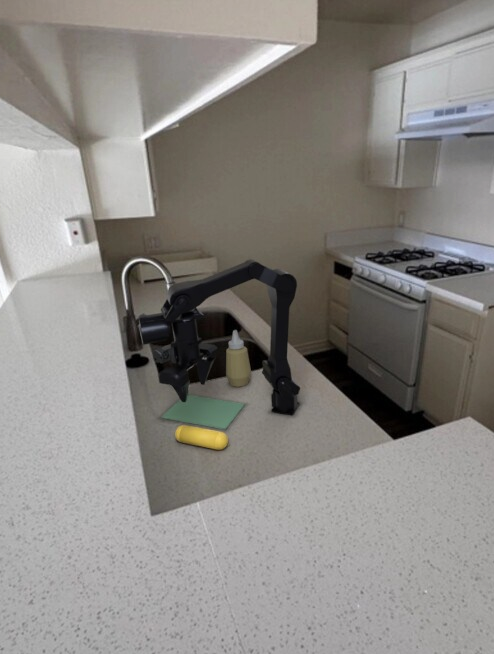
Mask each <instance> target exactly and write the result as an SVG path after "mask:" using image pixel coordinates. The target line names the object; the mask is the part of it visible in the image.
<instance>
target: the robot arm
mask: <svg viewBox="0 0 494 654" xmlns="http://www.w3.org/2000/svg"><path fill="white" fill-rule="evenodd" d="M251 280H256V281H259V282H260V283H263V284H265V285H266V289H267V294H268V297H269V301H270V305H271V310H270V311H271V314H270V315H271V317H270V320H271V321H270V346H269V356H268V358H267V359H266V360H265V359H263V360H262V363H261V364H262V371H261V374H262V376H263V377H264V378H265V380H266V381H267V383H269V385H270V386H271V388H273V389H272V392H271V394H270V397H271V398H270V400H271V407H272V408H271V410H270V411H271V413H274V414H280V415H281V414H282V415H288V416H294V414H295V413H296V412H297V409H298V408H299V405H300V402H299V401H298V395H299V394H300V391H301V387H300V386H299V385H298V384H297V383H296V381H295V380H294V379H293V377H292V370H291V367H290V364H289V360H288V343H289V327H290V326H289V324H290V307H291V305H292V303H293V301H294V300H295V298H296V293H297V288H298V281H297V279H296V277H295V276H294V275H292V274H291V273H289V272H288V271H285V270H283V269H281V268H275V269H271V268H270V267H268V266H267V265H266V266H265V265H263V264H261V263H260V262H258V261H257V260H255V259H252V258H251V259H247V260H245V261H244V262H241V263H239V264H237V265H234V266H231V267H230V268H226V269H224V270H222V271H219V272H216V273H214V274H211V275H209V276H207V277H204V278H201V279H196V280H195V279H194V280H185V281H181V282H176V283H173V284H172V285H170V286H169V287H168V289H167V292H166V299H165V301H164V302H163V305H162V306H161V307H160V312H158V313H152V314H139V315H138V323H139V326H138V328H139V333H140V334H139V335H140V337H141V342H142V345H143V346H145V345H150V344H156V343H161V342H167V341H168V340H169V339H170V337H171V336H172V333H173V340H172V341H171V343H170V344H165V345H164V346H162V347H159V348H155V349H154V350H152V359H153V360H154V363H156V364H158V363H159V364H161V365H162V364H164V363H166V362H170V361H171V364H178V366H174V365H167V367H164V368H163V369H162V370H161V371H159V373H158V374H157V378H158V382H159V384H162V385H168V386H171V388H173V390H174V391H175V393H176V395H177V397H178V398H179V400H180V399H181V401H182V402H186V401H187V396H188V395H189V390H190V389H189V388H190V383H191V379H189V377H190V373H189V370H191V369H192V368H193V367H194V366H196V372H197V376H198V380H199V383H200V385H201V386H202V385H203V386H205V384H206V382H207V380H208V377H209V374H210V372H211V369H212V366H213V364H214V361H215V360H216V357H217V356H218V355H219V351H218V347H217V346H216V345H215V344H212V343H204V342H203V338H202V337H199V333H198V326H197V325H198V324H197V320H199V319H203V318H205V314H204V313H203V312H202V311H201V310H199V309H198V307H199V306H201V305H202V304H203V303H204V302H205V301H206V300H207V299H208V298H210V297H213V296H214V295H218V294H220V293H222V292H225V291H227V290H230V289H232V288H234V287H237V286H239V285H242V284H244V283H247V282H249V281H251ZM170 324H171V325H170ZM171 329H172V331H171Z"/></svg>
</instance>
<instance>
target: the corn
mask: <svg viewBox="0 0 494 654" xmlns="http://www.w3.org/2000/svg"><path fill="white" fill-rule="evenodd" d="M174 437H175V439H176V440H177V441H178V442H179V443H182V444H188V445H192V446H197V447H203V448H207V449H211V450H217V451H221V450H223V449H225V448H226V447H227V446H228V444H229V437H228V435H227V434H226V433H225V432H223V431H219V430H213V429H208V428H204V427H198V426H192V425H187V424H182V425H179V426H178V427H177V428H176V430H175V432H174Z"/></svg>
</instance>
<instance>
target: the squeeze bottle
mask: <svg viewBox="0 0 494 654" xmlns="http://www.w3.org/2000/svg"><path fill="white" fill-rule="evenodd" d="M244 345H245V343H244V340H243V339H240V335H239V332H238V330H237V329H234V330H232V336H231V340H229V341H228V348H226V350H225V351H226V356H225V357H226V358H225V376H226V379H228V381H229V382H228V383H229V384H230V385H231V386H232V387H238V388H240V387H244V386H247V385H248V384H249V382H250V378H251V375H252V370H251V369H252V368H251V364H250V358H249V352H248V348H247V347H246V346H244Z"/></svg>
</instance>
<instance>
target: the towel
mask: <svg viewBox="0 0 494 654" xmlns="http://www.w3.org/2000/svg"><path fill="white" fill-rule="evenodd" d="M245 405H246V403H242V402H235V401H231V400H230V401H229V400H223V399H217V398H211V397H204V396H200V395H199V396H198V395H191V394H188V396H187V401H186V402H182V401H181V399H180V398H179V399H178V401H177V402H175V404H174V405H172V406H171V407H170V408H169V409H168V410H167V411H166V412H165V413H164V414H163V415H161V419H166V420H169V421H177V422H181V423H188V424H193V425H197V426H198V425H199V426H204V427H209V428H215V429H221V430H225V431H226V430H227V429H228V428H229V427H230V425H231V424H232V422H233V421H234V420H235V418H236V417H237V416H238V414H240V412H241V411H242V409H243V408H244V407H245Z"/></svg>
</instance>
